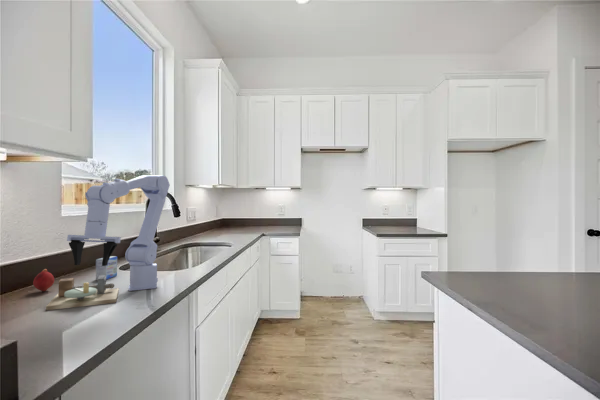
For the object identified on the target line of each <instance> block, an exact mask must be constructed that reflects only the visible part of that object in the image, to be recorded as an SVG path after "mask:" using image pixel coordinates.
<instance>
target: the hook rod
mask: <svg viewBox="0 0 600 400" xmlns="http://www.w3.org/2000/svg"><path fill="white" fill-rule="evenodd" d="M89 287H93V288H96V289H97V284H91V285H90V284H89ZM75 288H83V285H80V286H79V285H78V286H75V278H74V277H71V278H69V277H68V278H60V280H59V281H58V291H57V292H58V293H57V294H58V297H61V296H64V293H65V292H66V291H68V290H72V289H75ZM114 288H115V283H114V282H110V283H106V284H105V289H114Z"/></svg>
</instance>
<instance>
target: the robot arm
mask: <svg viewBox="0 0 600 400" xmlns="http://www.w3.org/2000/svg"><path fill="white" fill-rule="evenodd" d="M169 188H170V182H169V179H168V177H167V176H166V175H165V174H164V175H163V174H161V175H146V174H145V175H139V176H137V177H135V178H134V177H133V178H131V179H129V180H125V179H120V178H114V179H113V181H110V182H108V181H107V182H106V181H104V182H102V184H101V185H92V186H90V187H89V188H88V189H87V191H86V192H85V193H84V196H85V198H86V201H87V202H86V203H87V204H86V205H87V212H86V213H87V214H86V220H85V228H84V229H85V230H84V234H83V235H81V234H80V235H79V234H67V238H66V241H67V242H68V246H69V247H70V249H71V253H72V255H73V261H74V262H73V263H74V266H80V265H81V263H82V255H83V254H82V253H83V251H84V247H85V244H86V242H89V243H90V242H91V243H103V256H102V258H103V261H102V266H107V263H108V260H109V258H110V256H112V254H113V252H114V251H115V249H116V248H117V246H118V244H121V241H122V240H121V239H122V236H106V235H107V230H108V229H107V227H108V220H109V213H110V205H111V203H113V202H114V201H115V199H119V198H121V197H123V196H127V195H129V193H130V190H135V189H141V191H142V192H143V194H144V195H145V197H146V198H148V199H149V204H148V207H147V209H146V212H145V215H144V218H143V221H142V224H141V228H140V230H139V234H138V235H137V238H136V239H133V240H132V241H131V242H130V245H129V247H128V248H127V249H126V251H125V254H124V255H125V260H126V261H127V262H128V265H129V266H130V267H129V284H128V290H127V291H128V292H131V291H132V292H133V291H141V290H151V289H157V287H158V285H157V284H158V281H159V280H158V264H157V263H154V262H155V261H156V259H157V251H158V247H159V246H158V244H157V243H156V242H155V241H154V239H155V236H156V232H157V229H158V225H159V223H160V220H161V215H162V212H163V209H164V205H165V202H166V199H167V194H168V192H169ZM93 239H94V240H93Z"/></svg>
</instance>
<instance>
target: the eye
mask: <svg viewBox="0 0 600 400" xmlns="http://www.w3.org/2000/svg"><path fill="white" fill-rule="evenodd" d="M105 284H107V280H106V275H99V277H98V280H97V283H96V285H97V295H99V294H104V293H105V291H106V289H105Z"/></svg>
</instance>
